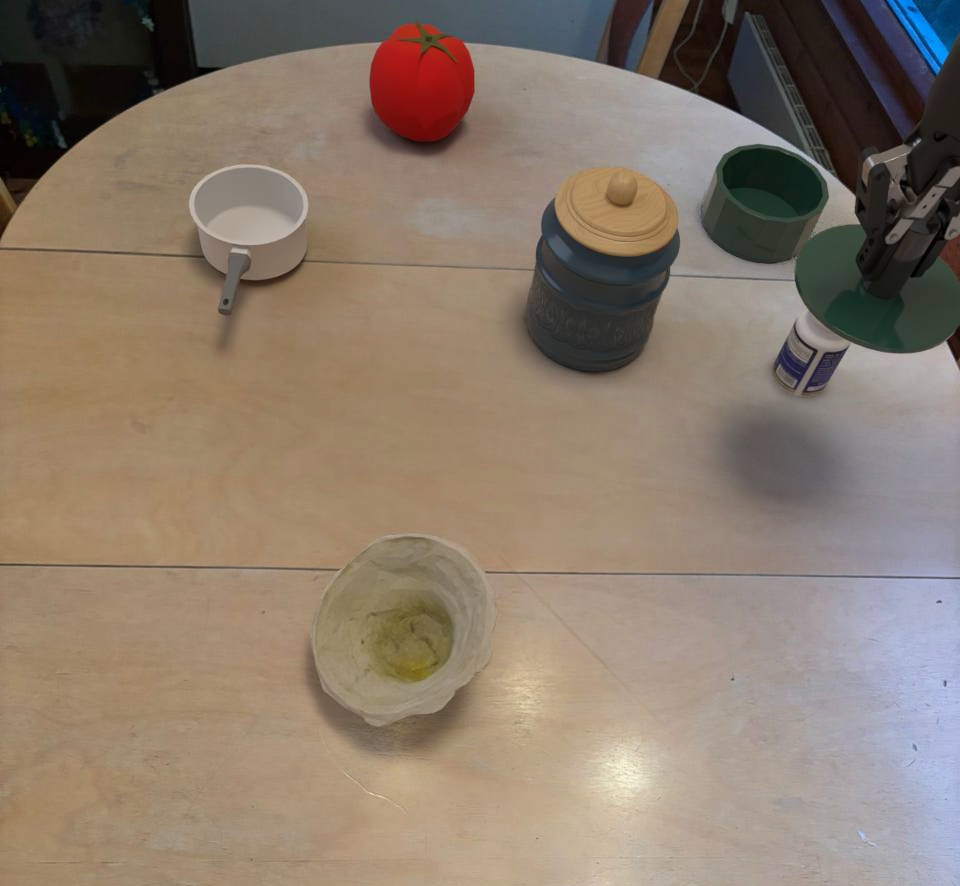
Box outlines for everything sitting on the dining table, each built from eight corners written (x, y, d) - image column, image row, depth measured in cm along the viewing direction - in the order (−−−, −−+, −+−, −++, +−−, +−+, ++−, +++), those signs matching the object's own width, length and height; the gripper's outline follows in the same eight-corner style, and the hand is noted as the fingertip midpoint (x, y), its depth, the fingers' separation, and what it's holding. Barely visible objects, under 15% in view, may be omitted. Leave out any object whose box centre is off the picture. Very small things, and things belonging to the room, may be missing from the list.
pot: (750, 172, 111) (767, 130, 106) (830, 233, 108) (851, 192, 103) (679, 213, 107) (693, 171, 102) (760, 278, 103) (778, 238, 98)
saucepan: (171, 346, 91) (160, 302, 86) (209, 205, 100) (200, 157, 95) (292, 359, 92) (287, 316, 87) (318, 218, 101) (315, 171, 96)
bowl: (288, 615, 79) (277, 551, 70) (442, 564, 83) (450, 497, 74) (352, 773, 74) (349, 726, 65) (514, 711, 77) (532, 658, 68)
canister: (623, 274, 101) (668, 120, 86) (665, 365, 96) (722, 218, 80) (508, 289, 99) (533, 132, 83) (545, 383, 93) (578, 235, 78)
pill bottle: (824, 364, 98) (868, 289, 89) (823, 405, 96) (869, 333, 87) (770, 353, 98) (809, 277, 89) (768, 394, 96) (808, 320, 87)
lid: (859, 212, 79) (900, 134, 72) (990, 308, 75) (1045, 234, 69) (756, 281, 74) (791, 203, 68) (890, 387, 70) (941, 315, 64)
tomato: (392, 167, 105) (393, 77, 96) (354, 103, 110) (352, 11, 101) (488, 147, 109) (499, 57, 99) (448, 85, 113) (455, -5, 104)
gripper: (945, 90, 54) (821, 315, 70) (1154, 80, 57) (990, 300, 72) (894, 11, 58) (787, 243, 73) (1094, 5, 60) (949, 231, 75)
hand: (888, 270), depth 72 cm, fingers closed on lid, 3 cm apart
